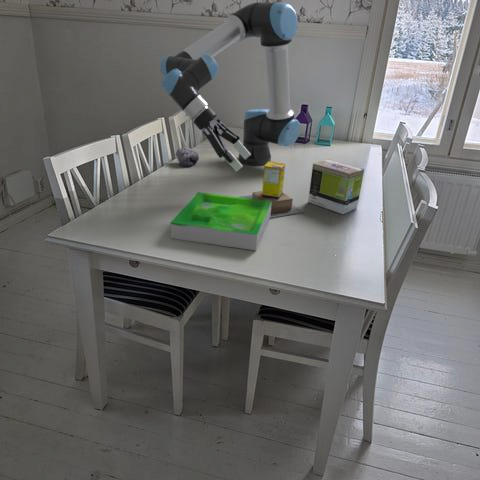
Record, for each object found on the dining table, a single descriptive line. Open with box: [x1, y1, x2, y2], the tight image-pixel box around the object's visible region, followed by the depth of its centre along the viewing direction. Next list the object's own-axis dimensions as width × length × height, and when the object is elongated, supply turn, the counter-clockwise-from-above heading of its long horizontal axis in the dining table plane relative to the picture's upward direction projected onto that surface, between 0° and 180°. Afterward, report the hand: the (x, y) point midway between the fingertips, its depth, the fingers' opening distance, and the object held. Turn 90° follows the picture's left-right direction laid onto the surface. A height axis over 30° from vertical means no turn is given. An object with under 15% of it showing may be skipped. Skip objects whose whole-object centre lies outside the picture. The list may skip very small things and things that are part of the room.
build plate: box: [240, 190, 304, 220], centre depth 146 cm, size 20×16×4 cm
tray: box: [170, 191, 272, 251], centre depth 128 cm, size 25×25×5 cm
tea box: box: [308, 159, 365, 215], centre depth 147 cm, size 15×10×15 cm, turn 45°
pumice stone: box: [175, 146, 200, 168], centre depth 183 cm, size 10×8×10 cm
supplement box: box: [261, 161, 286, 199], centre depth 141 cm, size 6×6×11 cm
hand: (244, 162), depth 141 cm, fingers open, 13 cm apart
